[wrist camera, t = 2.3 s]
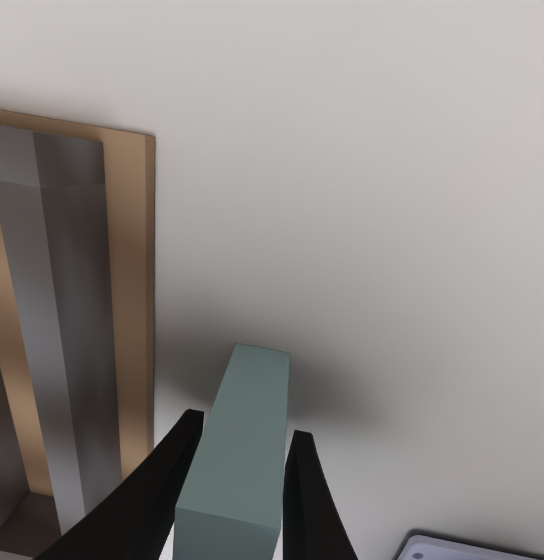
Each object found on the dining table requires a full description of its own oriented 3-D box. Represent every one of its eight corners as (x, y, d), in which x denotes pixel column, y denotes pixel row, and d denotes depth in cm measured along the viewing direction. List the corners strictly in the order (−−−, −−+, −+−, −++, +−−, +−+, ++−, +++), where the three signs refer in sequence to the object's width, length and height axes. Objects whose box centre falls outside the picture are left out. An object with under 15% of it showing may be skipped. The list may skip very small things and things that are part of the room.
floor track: (152, 521, 16) (121, 594, 13) (2, 490, 16) (-59, 555, 14) (154, 137, 9) (87, 120, 6) (-116, 90, 9) (-303, 53, 6)
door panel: (267, 455, 13) (244, 655, 8) (222, 446, 14) (168, 638, 8) (289, 352, 11) (280, 528, 6) (236, 342, 11) (175, 506, 6)
